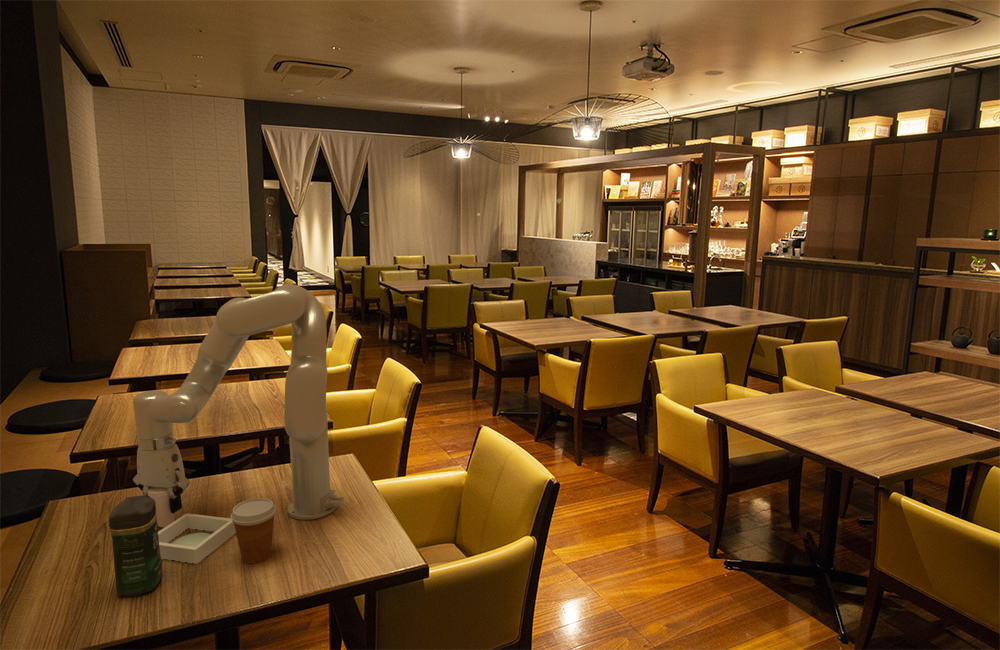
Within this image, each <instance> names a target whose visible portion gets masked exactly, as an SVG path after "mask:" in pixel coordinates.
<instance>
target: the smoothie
mask: <svg viewBox="0 0 1000 650" xmlns="http://www.w3.org/2000/svg"><path fill="white" fill-rule="evenodd" d="M172 488H173V489H174V491H176V489H175V487H172ZM148 496H150V497H151V498H153V499H154V500H155V505H156V511H157V527H159V528H165V527H166V526H168V525H169V524H171V523H172V522H174V521H175V520H176V512H175V513H171V511H170V503H169V499H170V498H171V496H170V494H169V492H168V490H167V488H162V487H150V488H149V489H148Z"/></svg>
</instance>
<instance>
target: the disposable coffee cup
mask: <svg viewBox="0 0 1000 650" xmlns="http://www.w3.org/2000/svg"><path fill="white" fill-rule="evenodd" d="M231 511H232V512H231V513H230V519H232V521H233V522H234V526H235V530H236V534H235V535H236V539H237V543H238V548H239V552H240V556H241V560H242V561H243V562H244V563H247V564H255V563H260V562H263V561H265V560H267V559H269V558H270V557H271V555H272V549H273V536H274V533H273V532H274V524H275V523H274V519H275V515H276V511H277V507H276V505H275V504H274V501H273V500H271V499H268V498H263V497H262V498H261V497H260V498H250V499H247V500H244V501H241V502H238V503H237V504H236V505H234V507H233V508H232V510H231Z"/></svg>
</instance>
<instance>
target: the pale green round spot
mask: <svg viewBox="0 0 1000 650" xmlns="http://www.w3.org/2000/svg"><path fill="white" fill-rule="evenodd" d="M210 535H211V534H210V533H208V532H193V533H189V534H186V535H183V536H181V537H179V538H176V539H175V540H174V541H173V542H172V543H171V544H177V545H184V546H192V547H195V546H197V545H198V544H199V543H201V542H202V541H203V540H205V539H206V538H207V537H209V536H210Z"/></svg>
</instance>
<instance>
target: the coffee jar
mask: <svg viewBox="0 0 1000 650" xmlns="http://www.w3.org/2000/svg"><path fill="white" fill-rule="evenodd" d="M108 520H109V524H108V525H109V531H110V537H111V543H112V553H113V555H112V556H113V561H114V562H113V563H114V576H115V577H114V578H115V579H114V580H115V588H116V590H115V591H116V593H117V595H118V596H123V597H124V596H125V597H135V596H140V595H143V594H144V593H147V592H151V591H153V590H154V589H155V588H156V587H157V585H158V584H159V582H160V580H161V578H162V575H163V564H162V559H161V555H160V547H159V537H158V532H159V530H158V527H159V526H158V523H157V511H156V505H155V500H154V499H153V498H151V497H149V496H148V495H143V494H142V495H136V496H135V495H134V496H127V497H126V498H125V499H123V500H122V501H120V502H119V503H117V505H116V506H115V507H114V508H113V509H112V511H111V512H110V514H109V516H108Z"/></svg>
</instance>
